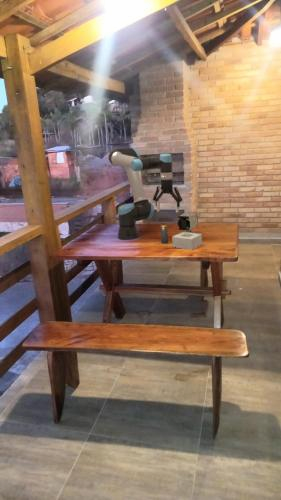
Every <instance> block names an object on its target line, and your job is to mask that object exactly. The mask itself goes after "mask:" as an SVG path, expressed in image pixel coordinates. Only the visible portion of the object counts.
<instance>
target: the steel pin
mask: <svg viewBox="0 0 281 500" xmlns="http://www.w3.org/2000/svg"><path fill="white" fill-rule="evenodd" d="M168 238H169V235H168V225H167V224H160V241H161V244H162V245H167V243H168V244H169V241H168Z"/></svg>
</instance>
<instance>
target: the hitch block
mask: <svg viewBox="0 0 281 500" xmlns="http://www.w3.org/2000/svg"><path fill="white" fill-rule="evenodd" d="M171 237H172V238H171V239H172V248H175V247H176V249H181V248H182V249H183V250H189V251H193V250H194V249H196V248H197V249H198V247H200V246H202V245H203V235H202V233H196V232H195V233H189V232H185V231H182V232H179V233H177V234H175V235H173V236H171Z"/></svg>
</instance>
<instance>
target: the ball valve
mask: <svg viewBox="0 0 281 500" xmlns="http://www.w3.org/2000/svg"><path fill="white" fill-rule="evenodd" d="M198 218H199V216H198V215H197V212H195V211H194V212H193V211H186V212H184V213H182V214H181V215H178V221H177V226H178V230H179V231H184V232H189V233H196V231H194V230H193V229H194V228H195V227H197V225H198V224H199V219H198Z"/></svg>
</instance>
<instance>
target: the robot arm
mask: <svg viewBox="0 0 281 500" xmlns="http://www.w3.org/2000/svg"><path fill="white" fill-rule="evenodd" d="M107 159H108V161H109V163H110V164H111V165H113V166H116V167H117V166H121V167H123V169H124V170H125V171H126V175H127V178H128V182H129V186H130V190H131V193H132V197H133V202H131V203H125V204H122V205H120V206H119V207H118V208H117V209H118V211H117V215H118V225H119V227H118V231H117V239H119V240H123V241H124V240H125V241H126V240H134V239H137V238H139V237H140V234H139V232H138V231H139V230H138V229H137V226H136V225H137V223H136V222H138V221H143V220H148V219H149V220H150V219H151V218H152V217H153V216H154V213H155V208H154V206H155V207H156V212H160V211H161V208H160V207H161V205H160V204H161V203H160V199H161V198H162V196H163V195H165V194H167V195H168V194H169V195H171V197H172V198H173V199H174V200H175V213H179V210H180V207H181V206H180V205H181V203H180V202H183V198H182V196H181V194H180V192H179V190H178V189H179V188H178V186H173V185H174V183H173V180H174V179H173V158H172V154H171V153H161V154H160V155H159V156H156V155H155V156H151V157H145V158H144V157H143V158H142V157H141V155H140V151H139V150H138V148H135V147H133V146H131V147H130V146H129V147H121V148H114V149H112V150H111V151H110V152H109V154H108V158H107ZM149 170H160V172H159V173H160V185H158V186H156V190H155V193H154V195H153V197H152V201H154V202H155V205H154V204H153V203H152V202H150V201H149V199H148V198H147V196H146V195H145V191H144V187H143V183H142V180H141V176H140V171H141V172H142V171H149ZM160 190H161V191H160ZM159 192H160V193H159Z"/></svg>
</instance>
